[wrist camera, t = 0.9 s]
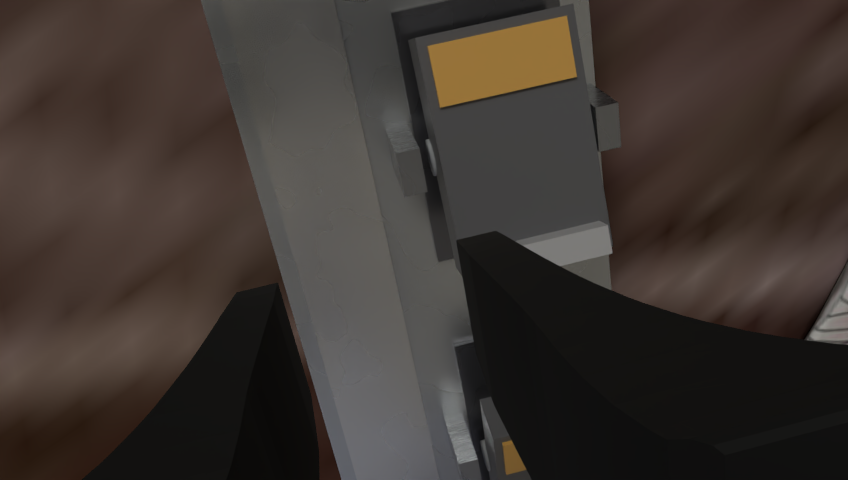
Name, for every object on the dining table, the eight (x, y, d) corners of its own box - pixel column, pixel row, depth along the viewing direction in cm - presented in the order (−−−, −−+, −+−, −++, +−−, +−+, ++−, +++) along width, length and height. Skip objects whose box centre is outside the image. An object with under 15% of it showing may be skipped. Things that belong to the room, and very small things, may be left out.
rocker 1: (589, 230, 19) (624, 250, 16) (450, 263, 18) (467, 288, 16) (551, 9, 18) (584, 0, 15) (403, 41, 17) (415, 37, 15)
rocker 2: (596, 464, 23) (627, 533, 22) (487, 494, 23) (509, 565, 22) (599, 351, 20) (635, 422, 19) (472, 384, 20) (497, 458, 18)
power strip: (588, 437, 28) (650, 552, 23) (359, 497, 27) (377, 627, 22) (482, -578, 16) (569, -750, 11) (71, -514, 15) (-9, -669, 11)
